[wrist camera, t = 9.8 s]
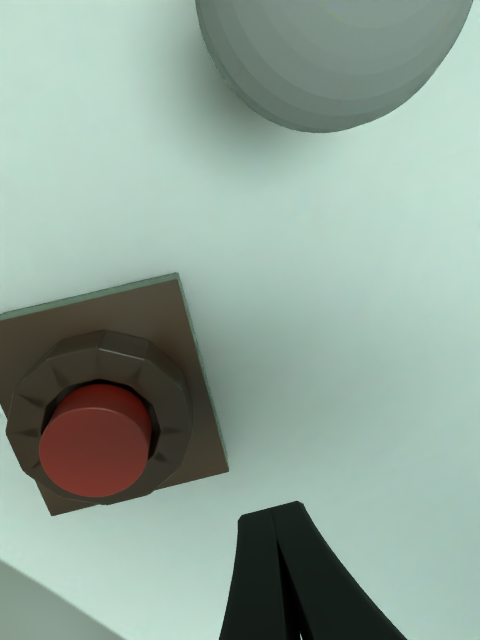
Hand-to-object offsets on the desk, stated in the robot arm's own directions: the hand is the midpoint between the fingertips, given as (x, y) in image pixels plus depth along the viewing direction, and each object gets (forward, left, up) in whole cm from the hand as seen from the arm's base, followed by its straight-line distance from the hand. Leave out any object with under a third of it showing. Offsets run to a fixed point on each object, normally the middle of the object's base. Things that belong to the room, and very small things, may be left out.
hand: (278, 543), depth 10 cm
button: (0, +5, -8) cm, 9 cm away
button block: (0, +5, -10) cm, 12 cm away
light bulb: (+11, -4, -11) cm, 15 cm away
